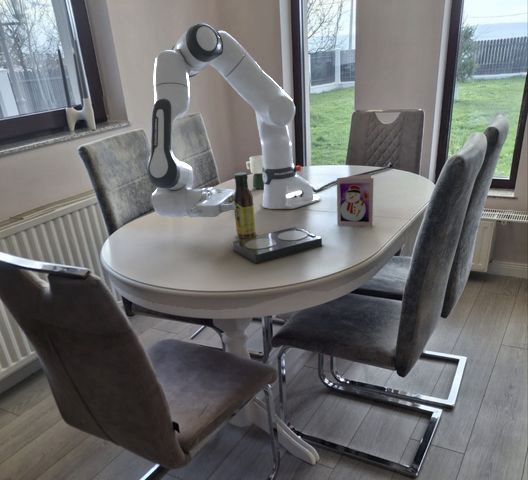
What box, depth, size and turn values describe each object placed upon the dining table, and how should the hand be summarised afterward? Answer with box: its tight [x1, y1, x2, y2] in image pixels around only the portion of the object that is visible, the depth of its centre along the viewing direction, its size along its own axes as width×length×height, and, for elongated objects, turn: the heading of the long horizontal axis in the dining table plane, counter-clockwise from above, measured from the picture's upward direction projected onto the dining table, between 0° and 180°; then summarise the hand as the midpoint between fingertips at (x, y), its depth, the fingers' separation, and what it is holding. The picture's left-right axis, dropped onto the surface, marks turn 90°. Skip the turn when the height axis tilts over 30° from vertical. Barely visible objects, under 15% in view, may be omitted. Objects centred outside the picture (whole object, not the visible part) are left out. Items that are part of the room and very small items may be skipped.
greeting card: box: [336, 173, 374, 227], centre depth 163 cm, size 11×7×15 cm, turn 68°
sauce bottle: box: [233, 171, 257, 240], centre depth 159 cm, size 7×6×20 cm
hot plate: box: [232, 226, 323, 264], centre depth 151 cm, size 22×15×3 cm
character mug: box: [245, 154, 264, 189], centre depth 220 cm, size 11×7×13 cm, turn 71°
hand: (240, 202), depth 159 cm, fingers open, 8 cm apart
